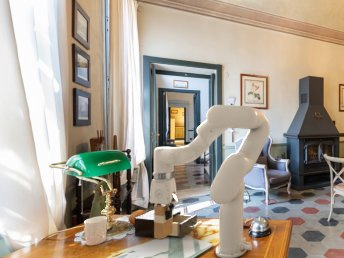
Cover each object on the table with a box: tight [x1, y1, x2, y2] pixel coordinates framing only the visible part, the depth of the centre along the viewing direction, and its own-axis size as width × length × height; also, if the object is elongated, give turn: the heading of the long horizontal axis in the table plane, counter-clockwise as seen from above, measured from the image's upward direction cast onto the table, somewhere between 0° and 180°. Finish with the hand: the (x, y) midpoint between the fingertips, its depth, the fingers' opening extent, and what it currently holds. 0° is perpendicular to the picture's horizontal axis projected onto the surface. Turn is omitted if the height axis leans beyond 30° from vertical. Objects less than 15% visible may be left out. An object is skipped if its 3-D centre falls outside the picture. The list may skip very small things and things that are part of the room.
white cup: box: [83, 216, 108, 246], centre depth 103 cm, size 8×8×10 cm
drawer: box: [169, 214, 203, 239], centre depth 111 cm, size 18×12×6 cm, turn 78°
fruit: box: [128, 209, 147, 226], centre depth 123 cm, size 8×8×8 cm
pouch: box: [88, 178, 108, 222], centre depth 115 cm, size 11×12×25 cm
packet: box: [153, 204, 174, 240], centre depth 100 cm, size 4×6×13 cm
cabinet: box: [134, 209, 182, 239], centre depth 114 cm, size 15×13×8 cm
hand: (163, 218), depth 100 cm, fingers closed on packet, 4 cm apart
